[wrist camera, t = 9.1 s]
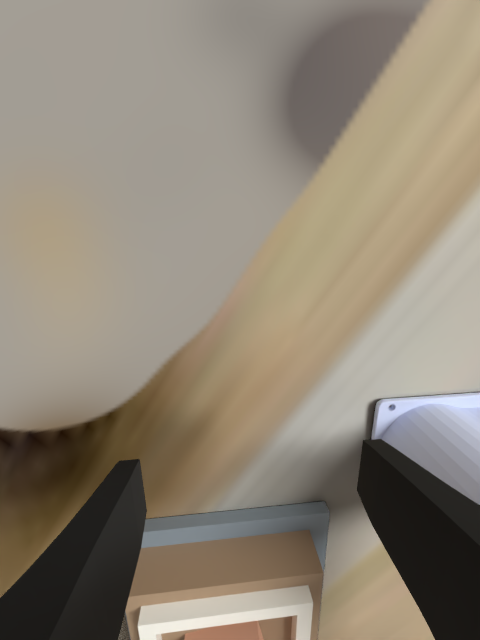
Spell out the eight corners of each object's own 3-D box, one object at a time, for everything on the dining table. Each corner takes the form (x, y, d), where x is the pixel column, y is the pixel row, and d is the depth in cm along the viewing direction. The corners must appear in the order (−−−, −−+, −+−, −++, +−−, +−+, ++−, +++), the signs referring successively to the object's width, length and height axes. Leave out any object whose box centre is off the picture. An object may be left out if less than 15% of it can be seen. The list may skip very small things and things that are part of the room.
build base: (324, 501, 23) (354, 570, 19) (313, 633, 28) (334, 715, 23) (114, 522, 22) (88, 603, 17) (138, 658, 27) (123, 751, 22)
